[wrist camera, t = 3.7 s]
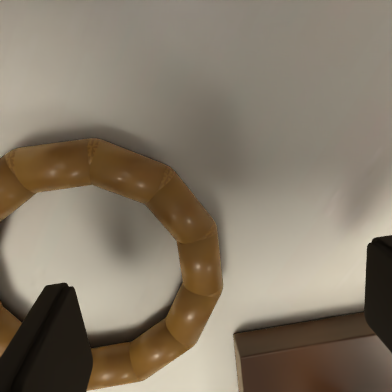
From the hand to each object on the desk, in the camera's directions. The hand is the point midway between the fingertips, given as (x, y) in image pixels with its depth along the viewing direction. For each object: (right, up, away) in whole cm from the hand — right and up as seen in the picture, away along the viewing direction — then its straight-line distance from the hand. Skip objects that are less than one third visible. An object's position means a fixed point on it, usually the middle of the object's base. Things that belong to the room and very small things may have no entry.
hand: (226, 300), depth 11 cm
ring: (-5, 0, +2) cm, 6 cm away
